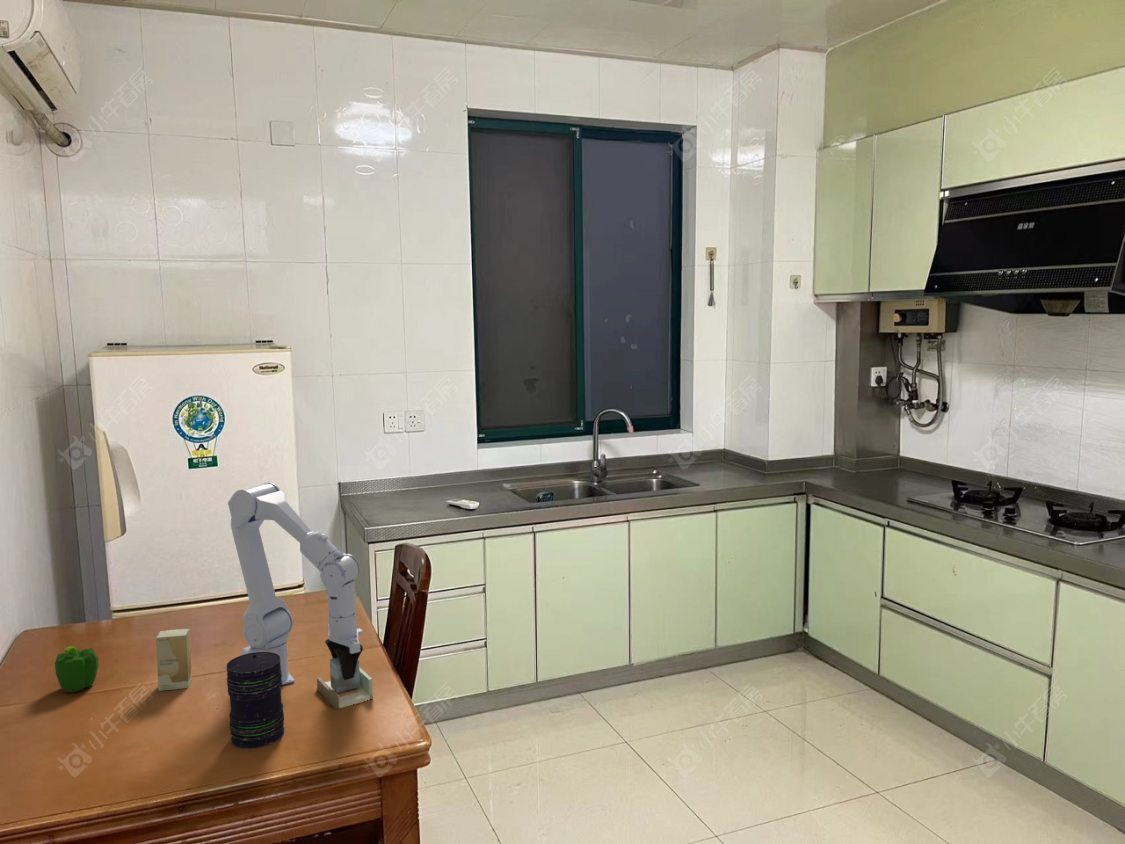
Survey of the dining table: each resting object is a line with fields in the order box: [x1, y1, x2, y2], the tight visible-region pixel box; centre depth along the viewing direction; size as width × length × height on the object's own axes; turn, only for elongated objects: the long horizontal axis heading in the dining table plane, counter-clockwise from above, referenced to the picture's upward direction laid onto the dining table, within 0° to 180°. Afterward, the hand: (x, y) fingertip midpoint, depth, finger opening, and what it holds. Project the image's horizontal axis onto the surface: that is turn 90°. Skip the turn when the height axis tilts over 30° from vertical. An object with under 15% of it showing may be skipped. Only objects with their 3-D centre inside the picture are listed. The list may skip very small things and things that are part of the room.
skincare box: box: [156, 628, 193, 692], centre depth 180 cm, size 6×4×12 cm
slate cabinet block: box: [329, 658, 360, 693], centre depth 175 cm, size 5×4×6 cm
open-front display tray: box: [316, 666, 374, 710], centre depth 175 cm, size 8×12×4 cm, turn 34°
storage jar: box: [226, 652, 285, 750], centre depth 157 cm, size 10×10×15 cm
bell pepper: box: [54, 645, 99, 693], centre depth 180 cm, size 8×8×10 cm
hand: (345, 674), depth 175 cm, fingers closed on slate cabinet block, 4 cm apart
